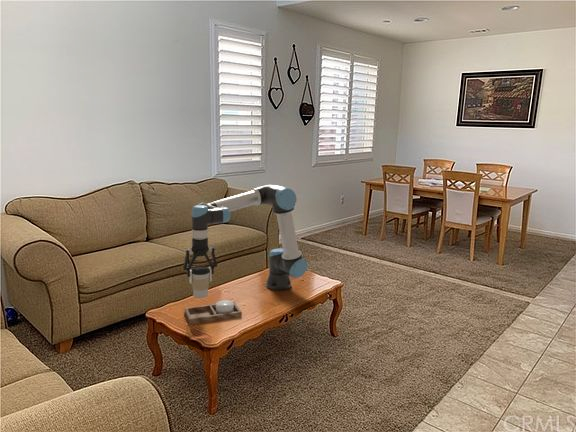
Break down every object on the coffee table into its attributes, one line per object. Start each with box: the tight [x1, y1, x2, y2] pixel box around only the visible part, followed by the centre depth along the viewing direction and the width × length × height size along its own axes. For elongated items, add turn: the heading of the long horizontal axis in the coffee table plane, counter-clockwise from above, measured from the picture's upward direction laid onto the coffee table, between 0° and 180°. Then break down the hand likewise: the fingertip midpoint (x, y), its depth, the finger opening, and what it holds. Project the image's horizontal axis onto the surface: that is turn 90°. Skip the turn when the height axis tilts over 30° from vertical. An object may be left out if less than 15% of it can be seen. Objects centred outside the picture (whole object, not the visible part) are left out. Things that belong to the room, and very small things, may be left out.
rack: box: [184, 301, 243, 325], centre depth 224 cm, size 26×14×4 cm, turn 112°
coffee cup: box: [191, 265, 210, 299], centre depth 218 cm, size 9×9×15 cm
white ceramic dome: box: [215, 299, 234, 314], centre depth 226 cm, size 9×9×5 cm
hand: (200, 281), depth 218 cm, fingers closed on coffee cup, 9 cm apart
